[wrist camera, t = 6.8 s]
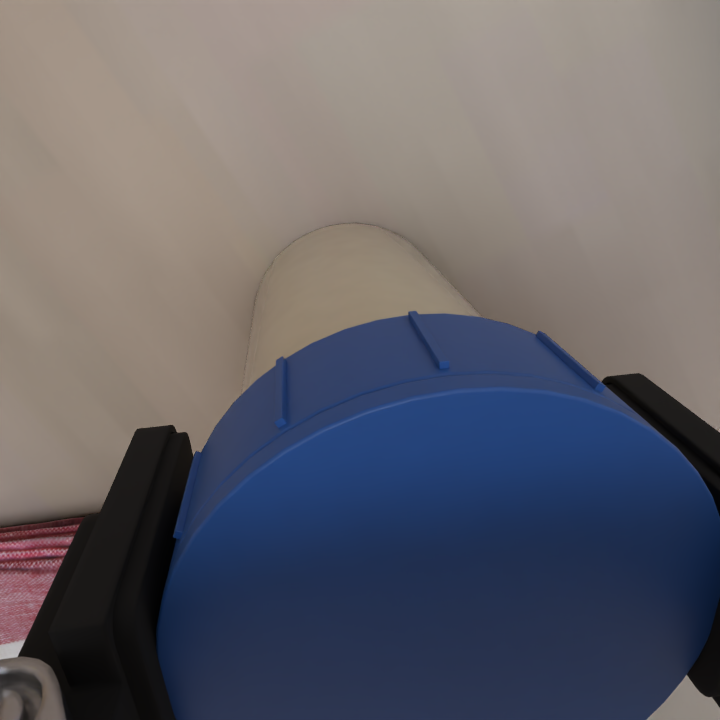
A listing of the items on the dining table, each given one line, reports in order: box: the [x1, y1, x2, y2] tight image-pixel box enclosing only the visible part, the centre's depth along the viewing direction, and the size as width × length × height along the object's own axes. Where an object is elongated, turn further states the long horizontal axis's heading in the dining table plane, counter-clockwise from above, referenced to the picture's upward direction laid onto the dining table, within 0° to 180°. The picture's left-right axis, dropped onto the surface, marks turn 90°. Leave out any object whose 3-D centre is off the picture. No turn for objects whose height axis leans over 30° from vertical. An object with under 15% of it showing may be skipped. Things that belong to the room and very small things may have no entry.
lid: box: [156, 311, 720, 720], centre depth 8 cm, size 7×7×2 cm
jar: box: [241, 223, 483, 395], centre depth 12 cm, size 6×6×11 cm
